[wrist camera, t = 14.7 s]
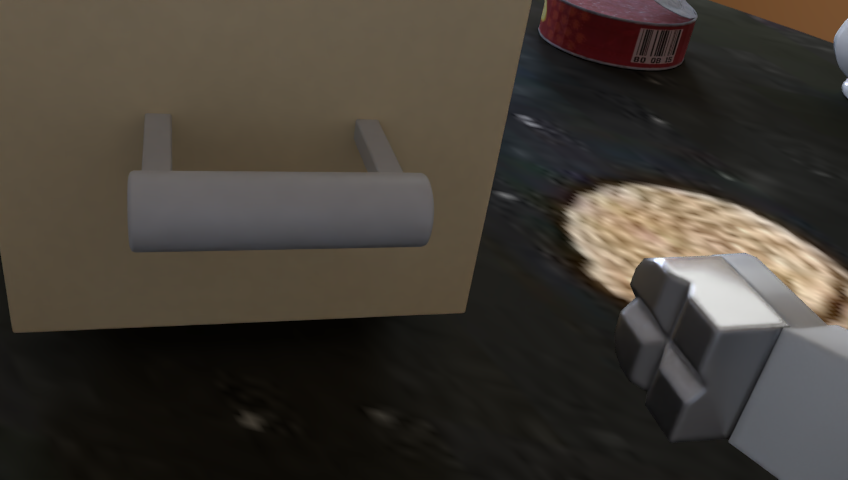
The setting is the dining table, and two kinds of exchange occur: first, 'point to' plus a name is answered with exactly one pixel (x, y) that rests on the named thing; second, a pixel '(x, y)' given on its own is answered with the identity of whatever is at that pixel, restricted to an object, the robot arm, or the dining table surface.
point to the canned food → (620, 31)
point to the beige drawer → (247, 157)
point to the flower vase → (842, 52)
